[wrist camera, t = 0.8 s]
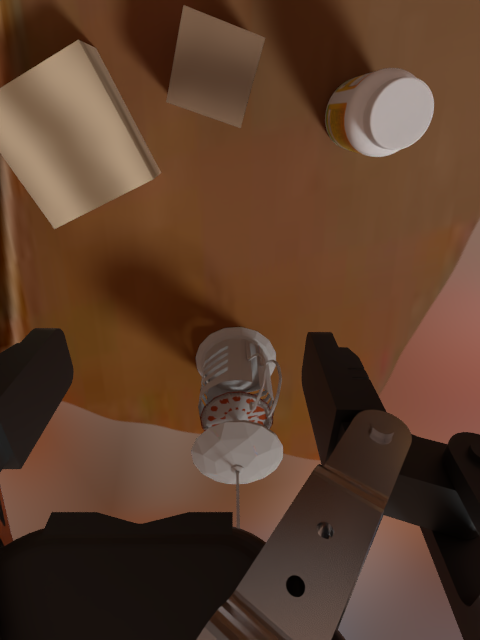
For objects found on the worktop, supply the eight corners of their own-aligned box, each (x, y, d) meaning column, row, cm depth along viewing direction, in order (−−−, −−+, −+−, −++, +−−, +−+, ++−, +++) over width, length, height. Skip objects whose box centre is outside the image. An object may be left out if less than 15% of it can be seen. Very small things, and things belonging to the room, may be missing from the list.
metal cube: (191, 23, 27) (183, 4, 23) (259, 50, 28) (265, 37, 24) (176, 103, 30) (166, 101, 25) (239, 125, 31) (240, 128, 26)
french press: (181, 373, 44) (132, 623, 22) (227, 300, 39) (221, 530, 18) (249, 402, 47) (264, 651, 25) (300, 337, 42) (374, 577, 20)
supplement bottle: (362, 160, 32) (407, 177, 24) (311, 130, 31) (341, 137, 23) (400, 98, 30) (466, 92, 22) (347, 62, 29) (395, 41, 20)
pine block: (97, 48, 28) (78, 39, 25) (161, 172, 33) (153, 179, 29) (-2, 108, 30) (-33, 108, 27) (72, 217, 35) (54, 229, 31)
